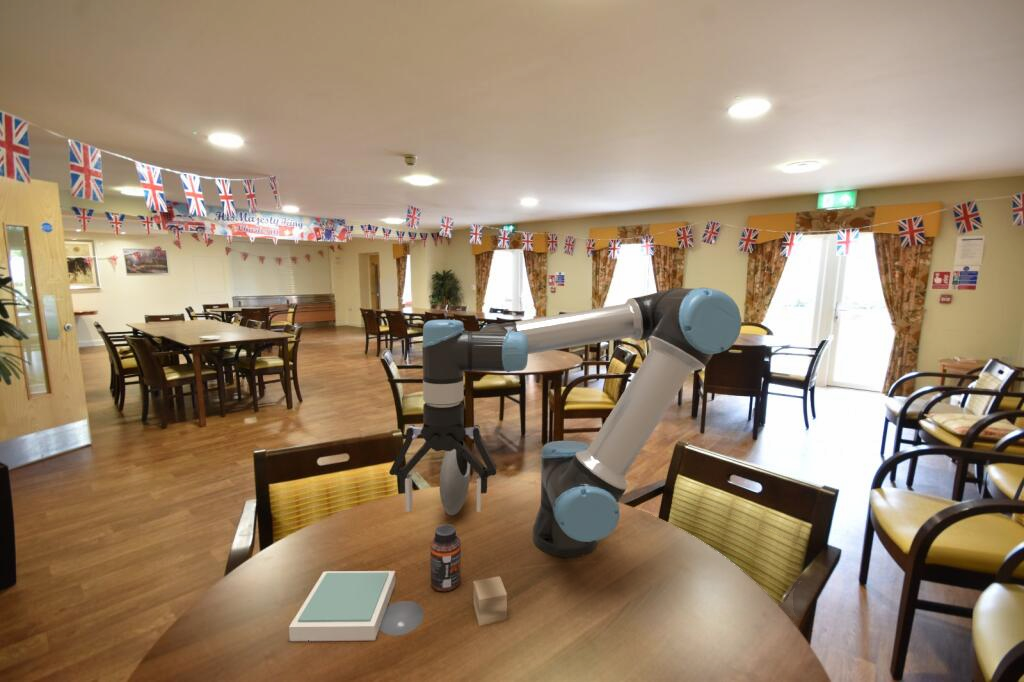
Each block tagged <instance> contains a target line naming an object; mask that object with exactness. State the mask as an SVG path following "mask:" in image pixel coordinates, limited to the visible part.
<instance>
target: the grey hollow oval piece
mask: <svg viewBox="0 0 1024 682" xmlns="http://www.w3.org/2000/svg"><path fill="white" fill-rule="evenodd" d="M470 480H471V465H470V464H469V463H468V462H467V461H466V460H465V459H464V457H463V456H462V455H461V454H459V453H458V452H457V451H456V450H455V449H454V450H452V451H445V454H444V456H443V458H442V462H441V467H440V473H439V496H440V497H439V498H440V501H441V505H442V508H443V510H444V511H445V513H446V514H448V515H449V516H456V515H457V514H458V513H459V512H460V511H461V510H462V508H463V506H464V504H465V502H466V499H467V495H468V492H469V488H470V487H469V486H470Z"/></svg>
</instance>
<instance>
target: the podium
mask: <svg viewBox="0 0 1024 682" xmlns="http://www.w3.org/2000/svg"><path fill="white" fill-rule="evenodd" d="M395 585H396V571H395V570H367V571H366V570H363V571H362V570H357V571H356V570H353V571H352V570H348V571H347V570H345V571H343V570H341V571H340V570H337V571H335V570H334V571H333V570H330V571H328V570H327V571H322V574H321V575H320V577H319V579H318V580H317V581H316V583H315V585H314V586H313V588H312V590H311V591H310V593H309V594H308V596H307V597H306V599H305V600H304V602H303V603H302V605H301V607H300V608H299V609H298V610H299V611H298V612H297V614H296V615H295V617H294V618H293V620H292V621H291V623H290V625H289V626H288V632H289V635H288V636H289V642H332V641H333V642H337V641H338V642H340V641H343V642H345V641H347V642H349V641H351V642H352V641H376V639H377V635H378V632H379V630H380V629H379V627H380V625H381V622H382V619H383V616H384V613H385V610H386V608H387V607H388V606H389V601H390V599H391V596H392V593H393V591H394V589H395ZM308 640H309V641H308Z"/></svg>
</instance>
